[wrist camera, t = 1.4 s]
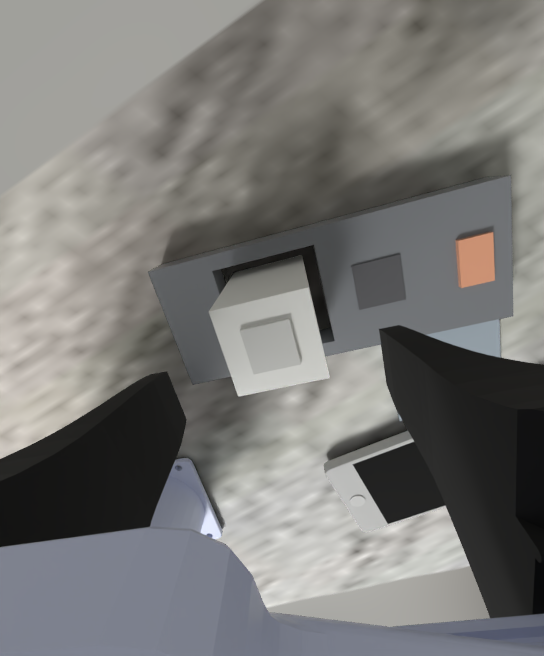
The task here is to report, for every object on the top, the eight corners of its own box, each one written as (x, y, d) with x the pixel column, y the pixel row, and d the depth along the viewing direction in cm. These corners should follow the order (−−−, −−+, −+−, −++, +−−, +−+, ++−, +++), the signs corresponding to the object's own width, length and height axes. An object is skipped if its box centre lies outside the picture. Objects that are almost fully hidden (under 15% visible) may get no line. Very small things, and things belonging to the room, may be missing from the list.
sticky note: (398, 418, 23) (399, 421, 23) (384, 332, 21) (386, 334, 21) (499, 400, 22) (501, 402, 22) (496, 308, 20) (499, 310, 20)
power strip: (200, 368, 22) (191, 387, 20) (160, 264, 20) (145, 273, 18) (492, 304, 20) (516, 318, 18) (487, 176, 18) (515, 175, 15)
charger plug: (253, 334, 21) (237, 399, 15) (234, 272, 20) (207, 313, 13) (316, 319, 21) (330, 380, 14) (301, 254, 19) (308, 288, 13)
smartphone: (321, 462, 24) (323, 473, 23) (553, 374, 21) (565, 382, 20) (361, 523, 27) (363, 535, 26) (572, 453, 23) (584, 464, 23)
